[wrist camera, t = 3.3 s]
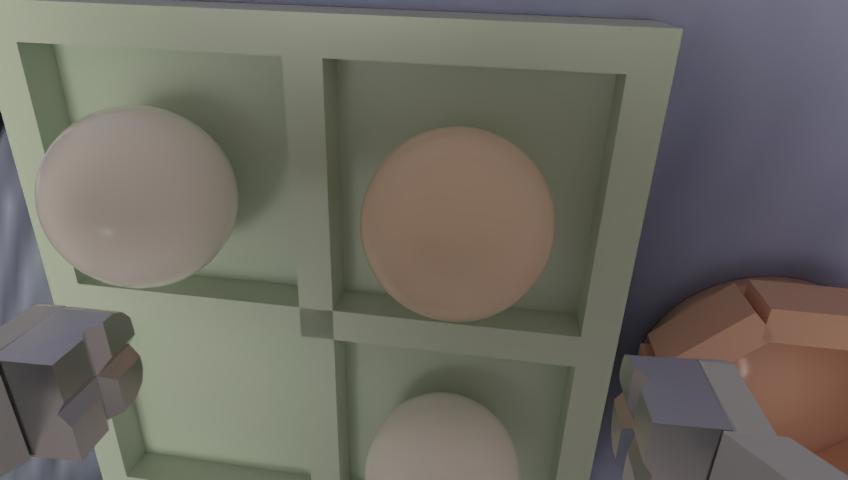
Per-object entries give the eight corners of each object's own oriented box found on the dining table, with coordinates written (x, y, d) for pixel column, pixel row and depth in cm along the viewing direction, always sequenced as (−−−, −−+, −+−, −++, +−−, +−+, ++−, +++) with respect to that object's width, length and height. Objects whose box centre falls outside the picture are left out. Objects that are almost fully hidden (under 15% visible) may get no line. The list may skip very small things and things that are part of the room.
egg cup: (932, 280, 16) (1001, 331, 14) (840, 480, 20) (884, 548, 17) (649, 255, 17) (670, 299, 15) (606, 450, 21) (618, 511, 18)
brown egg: (560, 113, 14) (579, 167, 10) (539, 274, 16) (548, 374, 12) (382, 102, 15) (331, 149, 11) (382, 259, 17) (339, 350, 13)
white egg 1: (258, 94, 15) (164, 137, 11) (272, 248, 17) (195, 333, 13) (100, 85, 16) (-45, 122, 12) (130, 235, 18) (15, 312, 14)
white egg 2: (527, 370, 18) (530, 489, 14) (512, 478, 20) (512, 611, 16) (382, 353, 18) (343, 462, 14) (382, 460, 20) (347, 584, 16)
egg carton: (655, 20, 15) (683, 29, 12) (565, 498, 22) (572, 563, 19) (48, -6, 17) (-31, -3, 14) (148, 440, 24) (106, 492, 21)
